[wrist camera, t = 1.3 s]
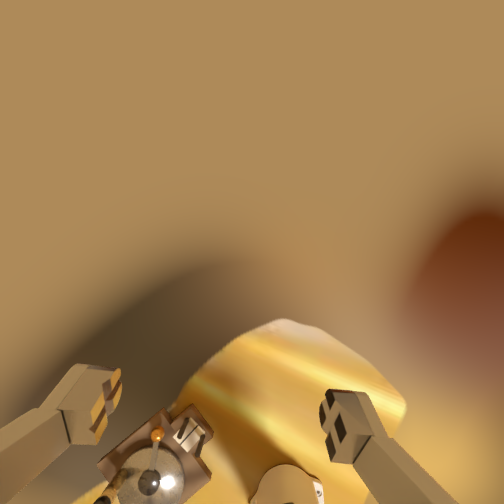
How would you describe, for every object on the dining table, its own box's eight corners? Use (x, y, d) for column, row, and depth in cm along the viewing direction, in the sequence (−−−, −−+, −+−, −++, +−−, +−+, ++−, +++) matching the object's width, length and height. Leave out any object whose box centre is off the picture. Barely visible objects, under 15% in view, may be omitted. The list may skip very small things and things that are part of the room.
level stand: (231, 456, 60) (228, 484, 52) (148, 526, 59) (132, 566, 51) (183, 391, 62) (173, 408, 54) (101, 458, 60) (78, 486, 52)
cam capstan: (193, 425, 59) (180, 461, 48) (178, 519, 57) (160, 580, 46) (128, 415, 59) (99, 448, 48) (110, 508, 57) (76, 566, 46)
